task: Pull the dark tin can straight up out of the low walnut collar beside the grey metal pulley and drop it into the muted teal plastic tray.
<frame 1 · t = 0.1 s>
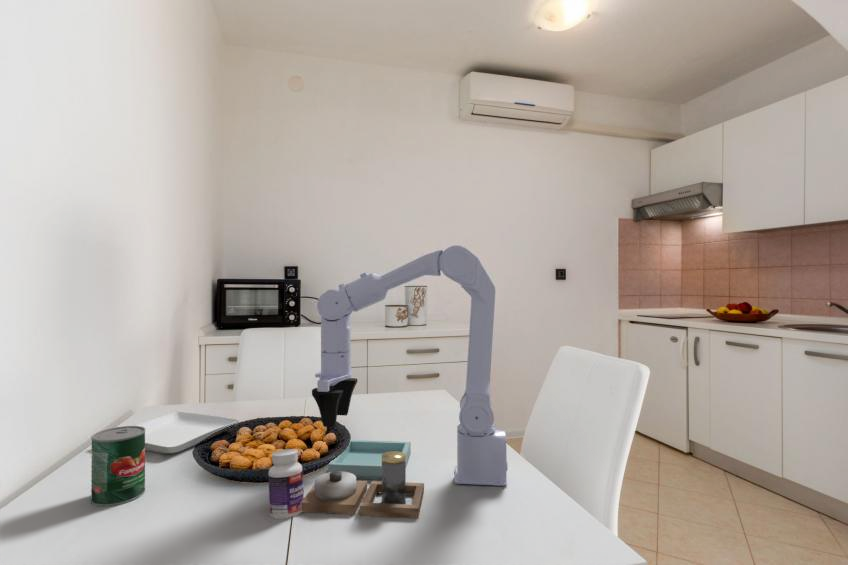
hand: (335, 420, 92), 10 cm above the table, fingers open, 7 cm apart
tray: (372, 464, 95), on the table
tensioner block: (393, 502, 79), on the table
pill bottle: (287, 514, 76), on the table, touching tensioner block
canned tomato: (118, 497, 81), on the table
salad plate: (174, 441, 111), on the table
tin can: (393, 502, 79), resting in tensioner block
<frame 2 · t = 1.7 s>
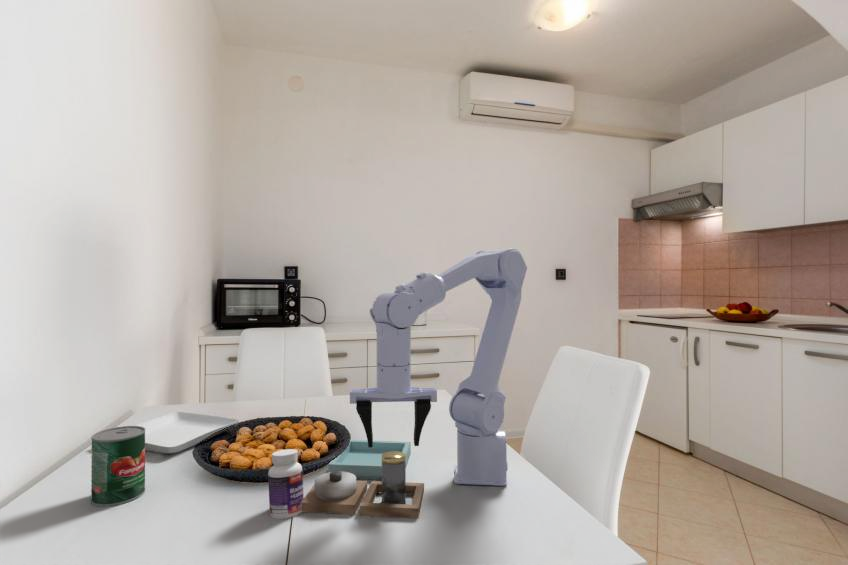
hand: (393, 444, 79), 10 cm above the table, fingers open, 7 cm apart
nothing on the table moved.
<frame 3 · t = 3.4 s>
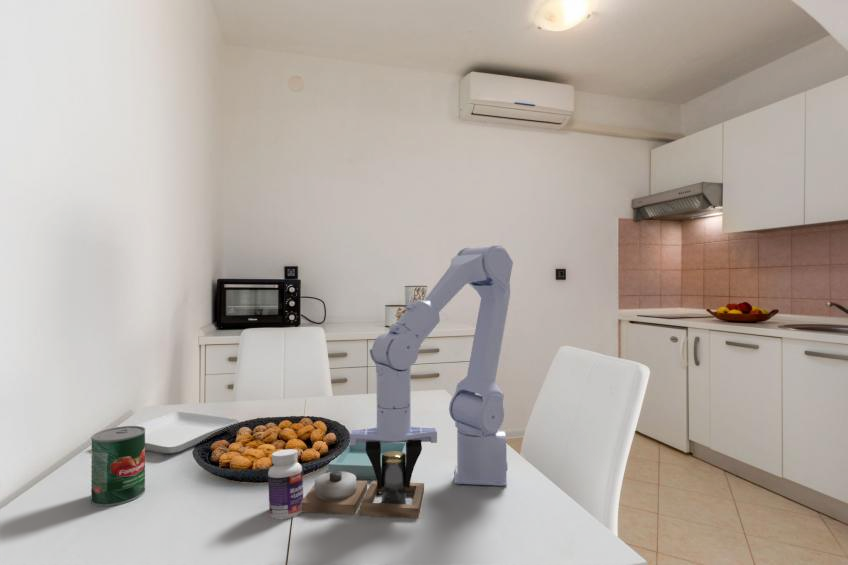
hand: (393, 485, 79), 3 cm above the table, fingers closed on tin can, 4 cm apart
tin can: (393, 502, 79), resting in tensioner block, touching gripper
everything else where it was.
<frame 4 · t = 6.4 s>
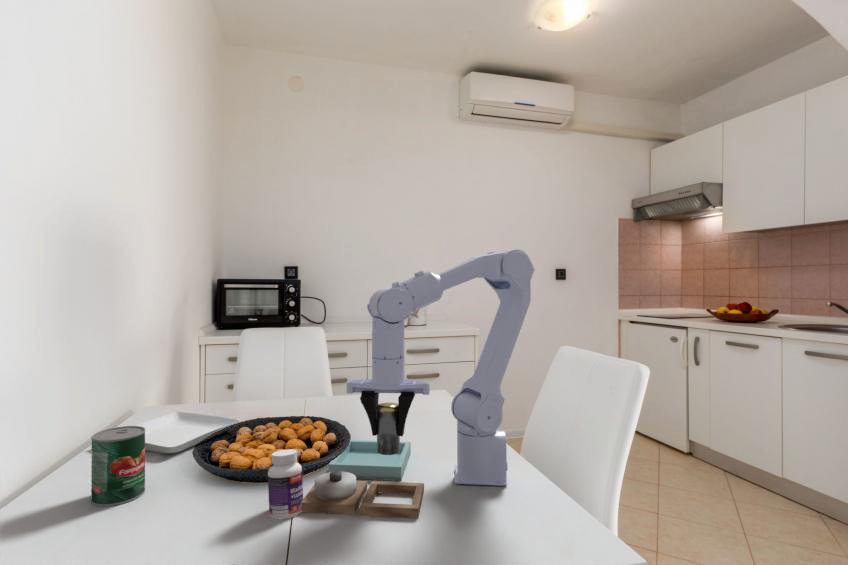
hand: (388, 434, 82), 10 cm above the table, fingers closed on tin can, 4 cm apart
tin can: (388, 450, 82), point 7 cm above the table, touching gripper
everything else where it was.
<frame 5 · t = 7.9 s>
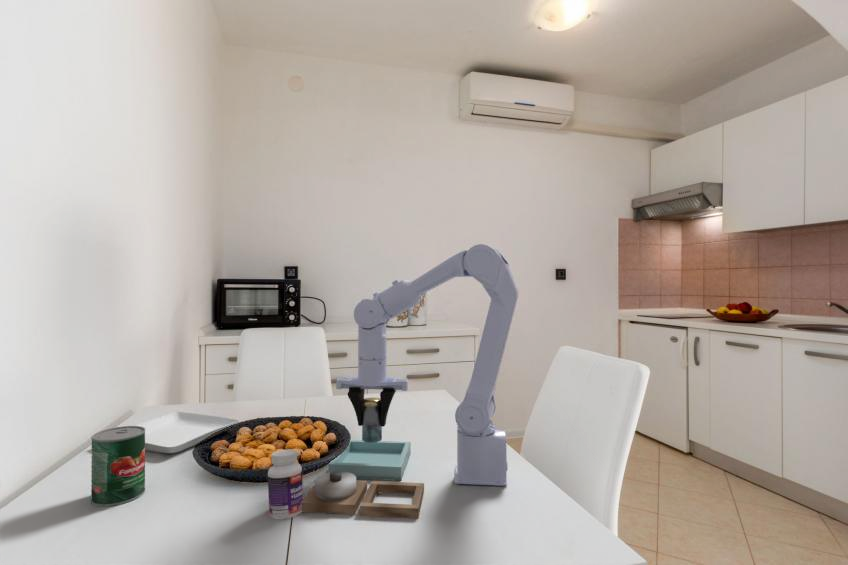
hand: (372, 424, 95), 8 cm above the table, fingers closed on tin can, 4 cm apart
tin can: (372, 439, 95), point 5 cm above the table, touching gripper
everything else where it was.
when the fingers open (5 cm above the table, at t = 9.2 s): tin can drops 1 cm, resting on tray.
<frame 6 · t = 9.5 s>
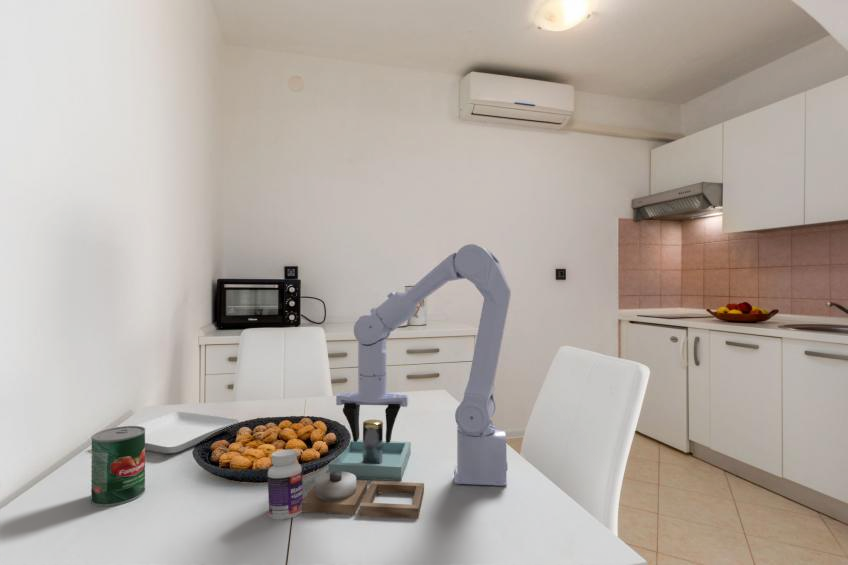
hand: (372, 440, 95), 5 cm above the table, fingers open, 6 cm apart
tin can: (372, 461, 95), point 1 cm above the table, touching tray
everything else where it was.
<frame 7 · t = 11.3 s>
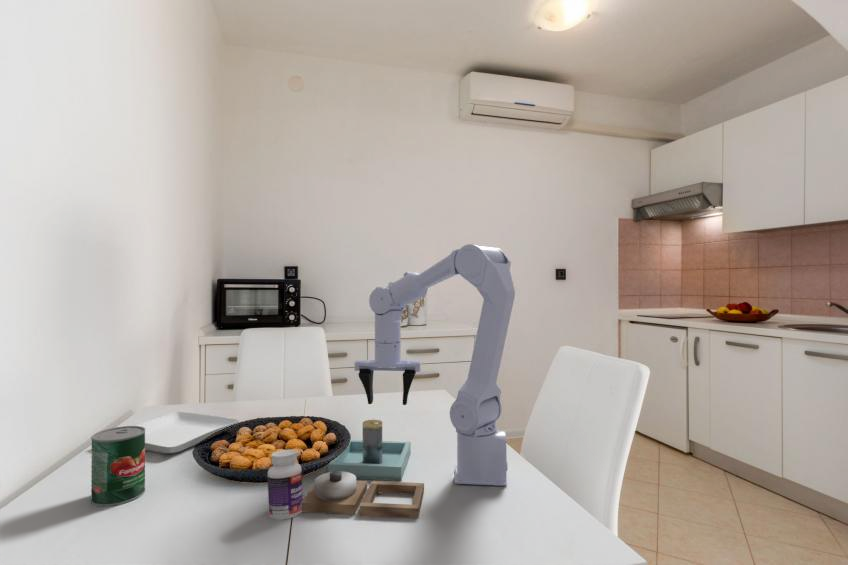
hand: (387, 403, 103), 10 cm above the table, fingers open, 7 cm apart
nothing on the table moved.
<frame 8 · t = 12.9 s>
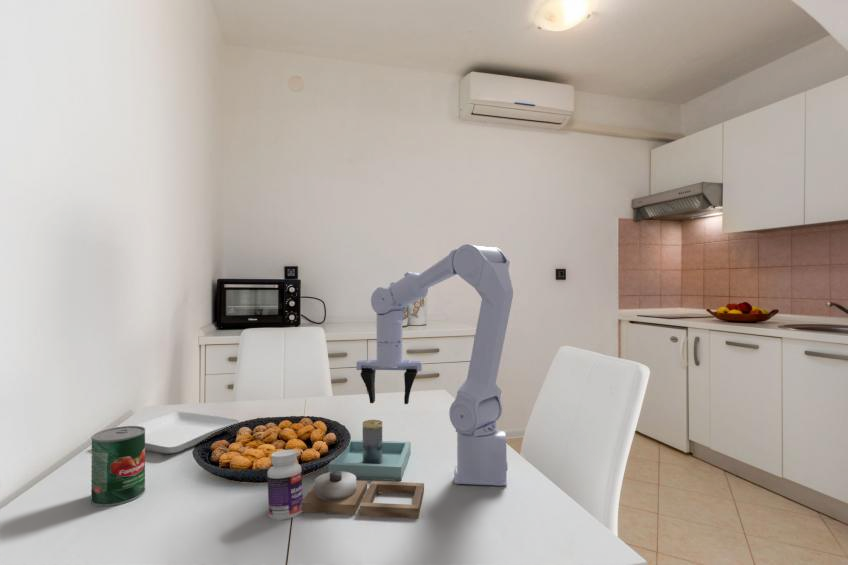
hand: (389, 402, 104), 10 cm above the table, fingers open, 7 cm apart
nothing on the table moved.
at the end: tin can inside the target area on the tray (0.1 cm from its centre), point 0.6 cm above the tray's base; the gripper is holding nothing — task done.
